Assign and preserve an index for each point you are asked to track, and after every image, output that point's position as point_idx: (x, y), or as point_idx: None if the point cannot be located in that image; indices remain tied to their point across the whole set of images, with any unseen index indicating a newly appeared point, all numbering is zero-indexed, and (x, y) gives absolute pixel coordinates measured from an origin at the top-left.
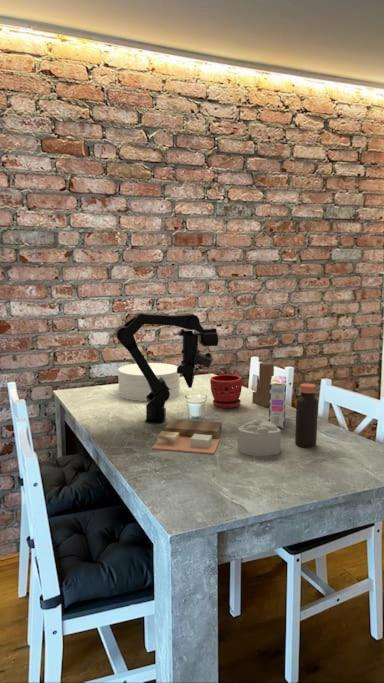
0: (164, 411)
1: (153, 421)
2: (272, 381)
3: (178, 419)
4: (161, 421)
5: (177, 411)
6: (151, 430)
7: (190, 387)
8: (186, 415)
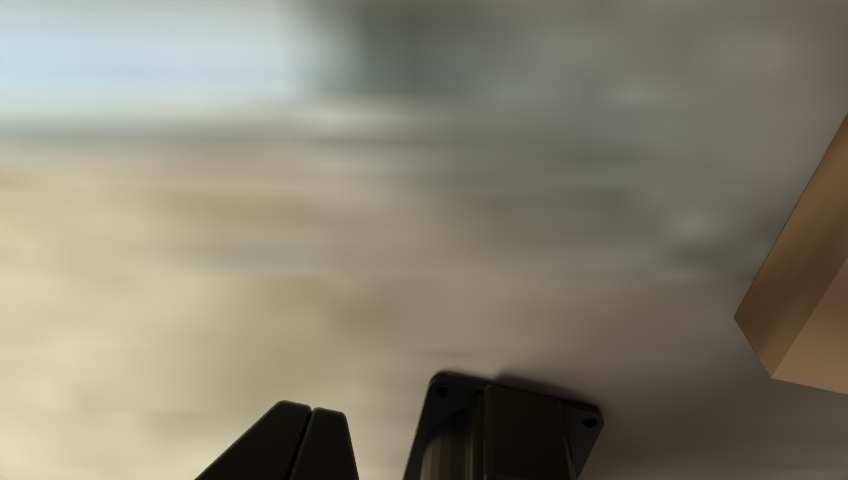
0: (555, 468)
1: (577, 473)
2: None
3: (817, 316)
4: (584, 416)
5: (153, 259)
6: (793, 474)
7: (341, 431)
8: (296, 164)
